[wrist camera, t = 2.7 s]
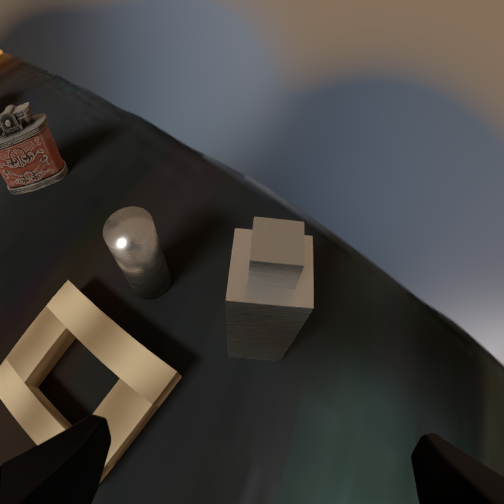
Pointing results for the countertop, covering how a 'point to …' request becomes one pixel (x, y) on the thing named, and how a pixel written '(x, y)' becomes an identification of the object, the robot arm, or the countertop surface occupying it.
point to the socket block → (106, 350)
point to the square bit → (268, 288)
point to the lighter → (28, 151)
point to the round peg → (138, 251)
